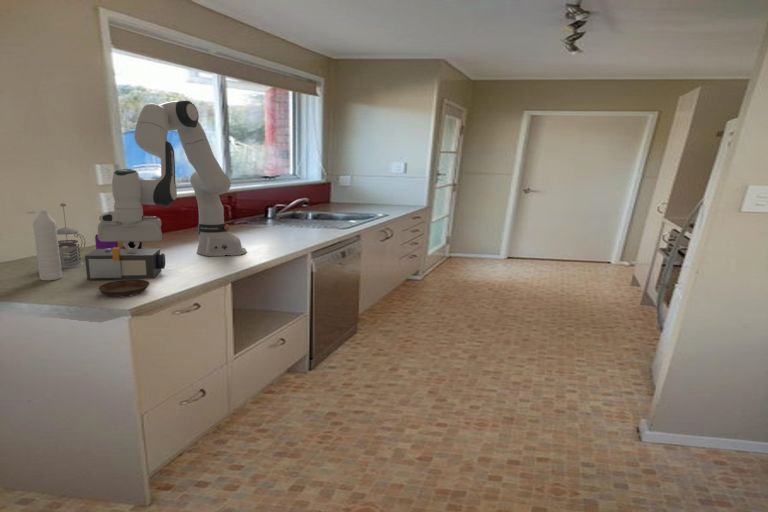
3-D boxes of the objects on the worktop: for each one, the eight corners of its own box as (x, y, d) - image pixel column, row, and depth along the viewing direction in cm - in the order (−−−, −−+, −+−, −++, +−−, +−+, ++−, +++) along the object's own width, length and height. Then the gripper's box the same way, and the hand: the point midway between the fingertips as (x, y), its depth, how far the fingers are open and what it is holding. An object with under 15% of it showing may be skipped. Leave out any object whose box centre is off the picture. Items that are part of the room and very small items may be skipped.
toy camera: (136, 250, 208) (134, 229, 206) (116, 257, 194) (114, 234, 192) (114, 249, 209) (112, 228, 207) (93, 255, 195) (91, 233, 193)
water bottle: (52, 275, 163) (43, 207, 157) (66, 277, 162) (59, 209, 156) (29, 281, 154) (19, 210, 149) (44, 283, 153) (35, 211, 148)
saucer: (90, 293, 146) (89, 285, 145) (135, 283, 158) (135, 276, 158) (113, 302, 138) (112, 294, 138) (158, 292, 150) (158, 284, 150)
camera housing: (166, 270, 176) (165, 246, 174) (159, 278, 165) (157, 253, 163) (99, 271, 170) (97, 246, 168) (87, 280, 159) (84, 253, 157)
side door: (122, 276, 162) (119, 247, 159) (120, 278, 160) (118, 248, 158) (91, 277, 159) (88, 247, 157) (89, 278, 158) (86, 248, 155)
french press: (48, 266, 175) (41, 203, 169) (77, 260, 186) (71, 201, 180) (66, 269, 172) (58, 205, 166) (94, 263, 182) (88, 202, 177)
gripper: (163, 214, 162) (165, 251, 165) (100, 214, 158) (104, 251, 161) (158, 217, 156) (161, 255, 160) (93, 216, 152) (97, 255, 155)
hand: (132, 253), depth 160 cm, fingers closed
